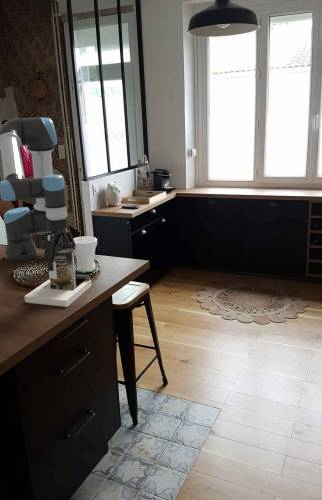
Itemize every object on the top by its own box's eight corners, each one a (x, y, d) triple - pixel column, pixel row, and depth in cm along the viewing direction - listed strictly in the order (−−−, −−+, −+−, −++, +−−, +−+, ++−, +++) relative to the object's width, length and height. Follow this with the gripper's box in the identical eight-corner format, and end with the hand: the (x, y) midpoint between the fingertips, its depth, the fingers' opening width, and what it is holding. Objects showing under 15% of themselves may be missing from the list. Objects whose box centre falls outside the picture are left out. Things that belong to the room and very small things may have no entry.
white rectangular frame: (53, 282, 173) (52, 276, 172) (91, 285, 168) (91, 280, 167) (25, 302, 155) (24, 296, 154) (67, 306, 150) (66, 300, 149)
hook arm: (54, 282, 173) (53, 272, 172) (90, 285, 168) (89, 275, 167) (52, 283, 172) (51, 273, 170) (89, 286, 167) (88, 276, 166)
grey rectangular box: (51, 294, 161) (46, 253, 156) (53, 287, 167) (49, 248, 162) (75, 292, 162) (71, 252, 157) (76, 286, 168) (73, 247, 163)
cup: (102, 267, 189) (100, 236, 184) (94, 276, 178) (92, 243, 174) (78, 266, 191) (75, 235, 186) (69, 275, 180) (66, 243, 176)
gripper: (64, 209, 168) (69, 260, 175) (28, 225, 146) (35, 283, 152) (81, 210, 166) (85, 261, 173) (48, 227, 144) (54, 285, 150)
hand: (62, 271), depth 163 cm, fingers open, 13 cm apart
